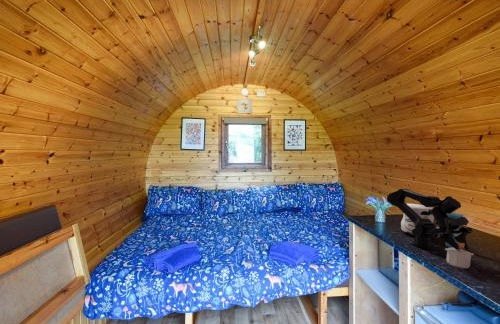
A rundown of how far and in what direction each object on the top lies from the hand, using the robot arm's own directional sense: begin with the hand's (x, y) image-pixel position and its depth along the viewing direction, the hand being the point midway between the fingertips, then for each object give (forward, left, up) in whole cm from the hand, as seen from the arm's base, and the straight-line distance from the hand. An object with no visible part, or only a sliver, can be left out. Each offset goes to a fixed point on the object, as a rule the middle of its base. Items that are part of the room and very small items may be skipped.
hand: (462, 249), depth 110 cm
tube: (-16, +22, -8) cm, 29 cm away
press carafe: (-1, +1, -8) cm, 8 cm away
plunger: (-1, 0, -7) cm, 7 cm away
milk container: (-35, +22, -8) cm, 43 cm away
